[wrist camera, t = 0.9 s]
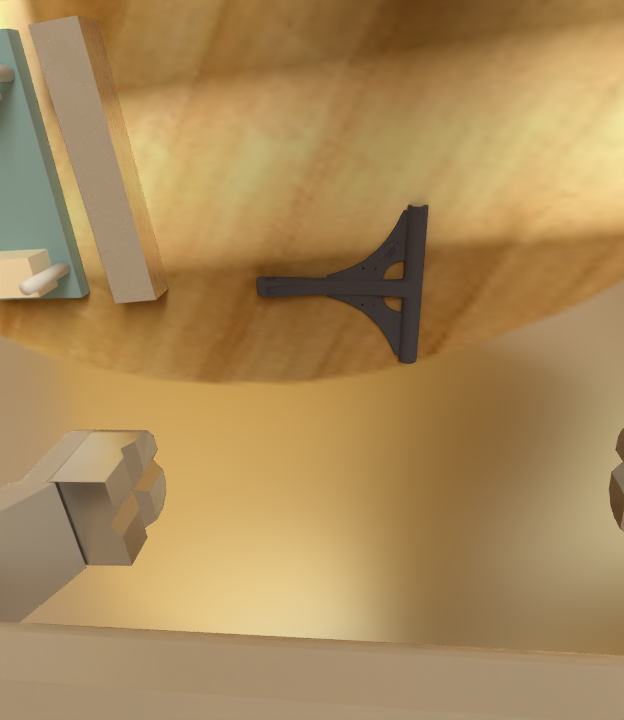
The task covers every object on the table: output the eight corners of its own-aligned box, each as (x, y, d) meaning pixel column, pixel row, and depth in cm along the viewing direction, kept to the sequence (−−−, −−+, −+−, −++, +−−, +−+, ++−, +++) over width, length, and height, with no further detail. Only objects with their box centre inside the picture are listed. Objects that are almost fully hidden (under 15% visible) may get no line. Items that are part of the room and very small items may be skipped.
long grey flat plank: (54, 29, 43) (28, 24, 40) (99, 20, 42) (77, 15, 39) (131, 290, 52) (115, 303, 49) (169, 287, 52) (155, 299, 49)
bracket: (255, 202, 47) (248, 208, 45) (427, 203, 45) (430, 210, 43) (265, 349, 54) (258, 362, 51) (415, 355, 52) (417, 369, 50)
